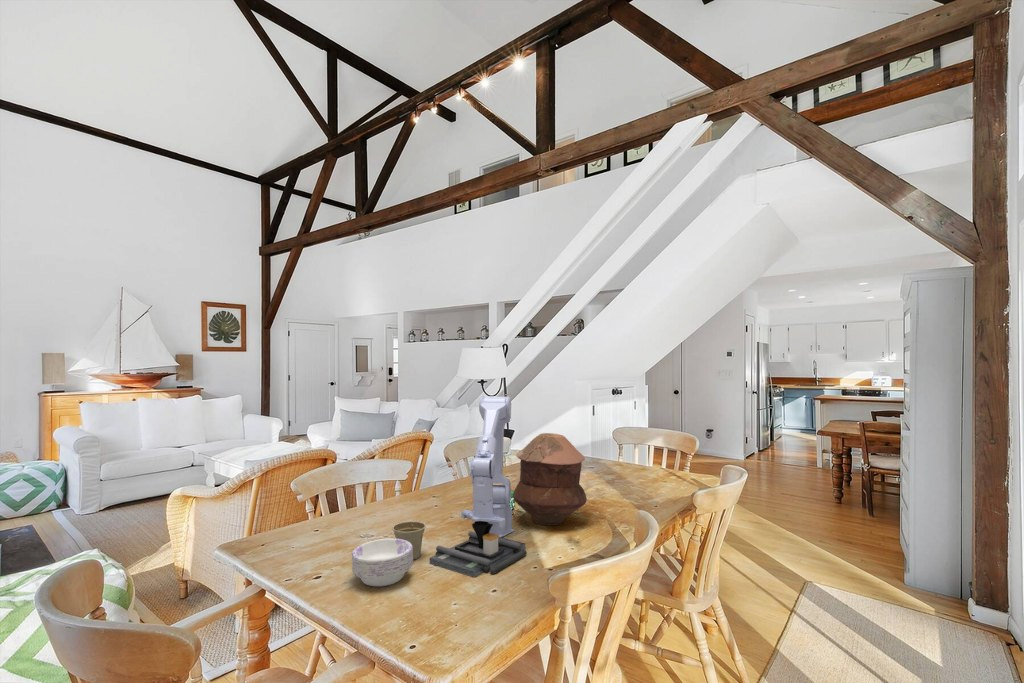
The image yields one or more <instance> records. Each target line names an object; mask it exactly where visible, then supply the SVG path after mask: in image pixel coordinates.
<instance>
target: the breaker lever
mask: <svg viewBox="0 0 1024 683" xmlns="http://www.w3.org/2000/svg"><path fill="white" fill-rule="evenodd" d="M498 538H499V535H498V534H494V533H488V534H485V535H483V554H487V555H492V554H494V553H495V552H497V551H498Z"/></svg>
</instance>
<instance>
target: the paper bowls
mask: <svg viewBox="0 0 1024 683" xmlns="http://www.w3.org/2000/svg"><path fill="white" fill-rule="evenodd" d="M413 564H414V559H413V547H412V544H411V543H410V542H408V541H406V540H402V539H396V538H390V537H389V538H380V539H375V540H374V539H373V540H371V541H367V542H364V543H362V544H360V545H357V546H356V547H355V548H354V549H353V550H352V552H351V572H352V573H353V575H354V576H356V577H357V578H360V580H361V581H362V582H363V584H365V585H367V586H370V587H386V586H391V585H394V584H396V583H398V582H399V581H401V580H402V578H403V577H404V576H405V573H406V572H408V571H409V570H410V569H411V568H412V567H413Z"/></svg>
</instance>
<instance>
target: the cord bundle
mask: <svg viewBox="0 0 1024 683" xmlns="http://www.w3.org/2000/svg"><path fill="white" fill-rule="evenodd" d="M435 550H436V552H435V554H434V555H437V554H439V553H441V554H448V555H451V556H452V557H455V558H458V559H462V560H465V561H468V562H475V563H479V565H482V566H484V573H490V574H491V575H494V574H496V573H498V572H500V571H502V570H503V569H505V568H506V567H509V566H510V565H512V564H513V563H515V562H517V561H518V560H520V559H521V558H523V557H525V556H526V555H527V551H526V550H525V549H524V550H522V551H520V552H518V553H517V554H515V555H513V556H511V557H509V558H508V559H506V560H504V561H502V562H501V563H499V564H497V565H495V566H494V567H492V568H491V569H490V564H491V561H490V560H488V559H485V558H481V557H478V556H474V555H471V554H467V553H463V552H460V551H456V550H453V549H449V547H445V546H441V545H437V546H436V547H435Z"/></svg>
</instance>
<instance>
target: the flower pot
mask: <svg viewBox="0 0 1024 683" xmlns="http://www.w3.org/2000/svg"><path fill="white" fill-rule="evenodd" d="M426 527H427V525H426V523H424V522H422V521H414V520H413V521H403V522H399V523H396V524H394V525H393V526H392V528H391V529H392V531H393V534H394V539H402V540H406V541H408V542H410V543H411V544H412V547H413V560H415V559H416V560H418V559H419V558H420V557H421V552H422V543H423V536H424V533H425V529H426Z"/></svg>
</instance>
